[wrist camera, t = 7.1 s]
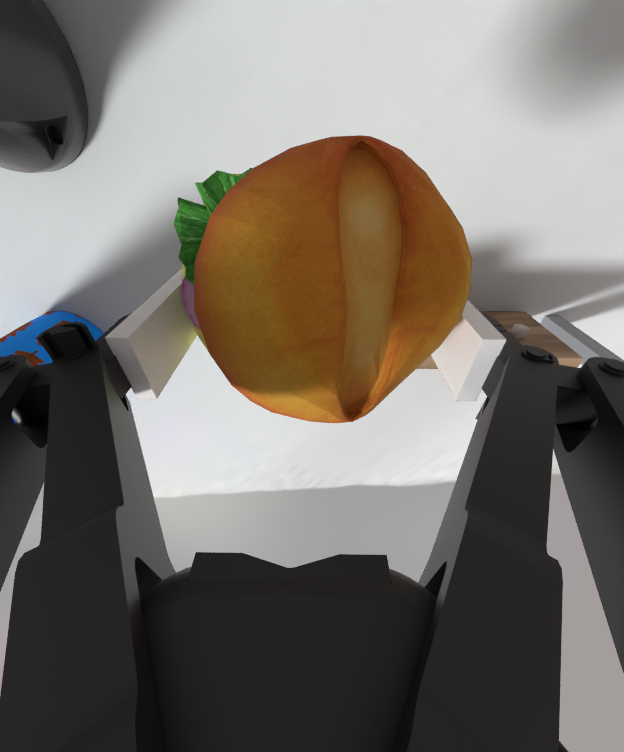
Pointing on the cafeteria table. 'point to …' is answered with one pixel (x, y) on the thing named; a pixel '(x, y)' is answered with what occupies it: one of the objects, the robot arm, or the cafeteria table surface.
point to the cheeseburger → (323, 275)
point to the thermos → (26, 336)
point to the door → (528, 338)
